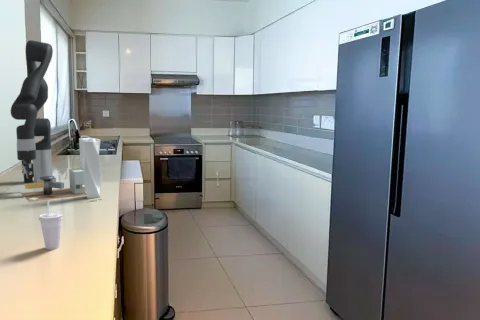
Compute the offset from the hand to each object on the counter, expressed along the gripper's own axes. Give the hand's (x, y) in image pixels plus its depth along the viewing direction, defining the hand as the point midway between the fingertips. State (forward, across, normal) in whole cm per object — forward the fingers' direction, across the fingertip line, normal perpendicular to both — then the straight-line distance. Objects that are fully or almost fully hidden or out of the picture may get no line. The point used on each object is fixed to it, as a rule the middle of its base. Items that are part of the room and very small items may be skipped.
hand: (28, 184), depth 196 cm
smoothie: (+6, +80, -7) cm, 80 cm away
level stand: (+4, +8, +19) cm, 21 cm away
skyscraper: (+5, +23, +22) cm, 32 cm away
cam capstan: (+3, +7, +5) cm, 9 cm away
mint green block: (+4, +14, -1) cm, 15 cm away
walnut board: (+5, +8, +9) cm, 13 cm away
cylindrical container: (+5, +5, +25) cm, 26 cm away
